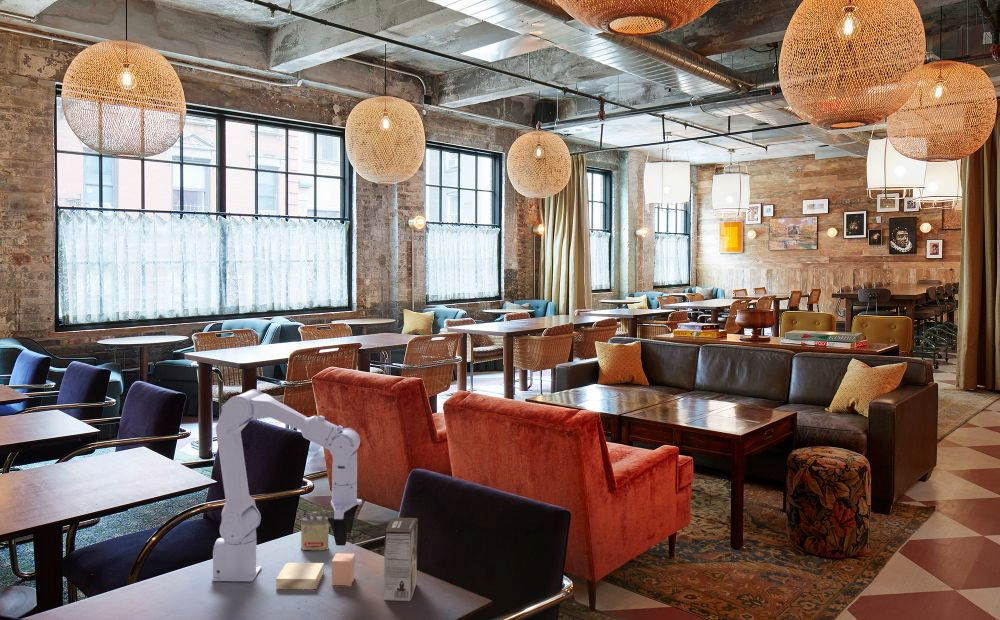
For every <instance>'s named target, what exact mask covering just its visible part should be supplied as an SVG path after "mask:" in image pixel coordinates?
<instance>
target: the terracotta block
mask: <svg viewBox="0 0 1000 620" xmlns="http://www.w3.org/2000/svg"><path fill="white" fill-rule="evenodd" d="M355 558H356V555H355V553H335V554H334V556H333V558H332V560H331V586H332V585H346V586H345V587H352V586H353V583H352V582H354V580H355V566H356V565H355V564H356V563H355V560H356V559H355ZM347 585H348V586H347Z"/></svg>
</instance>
